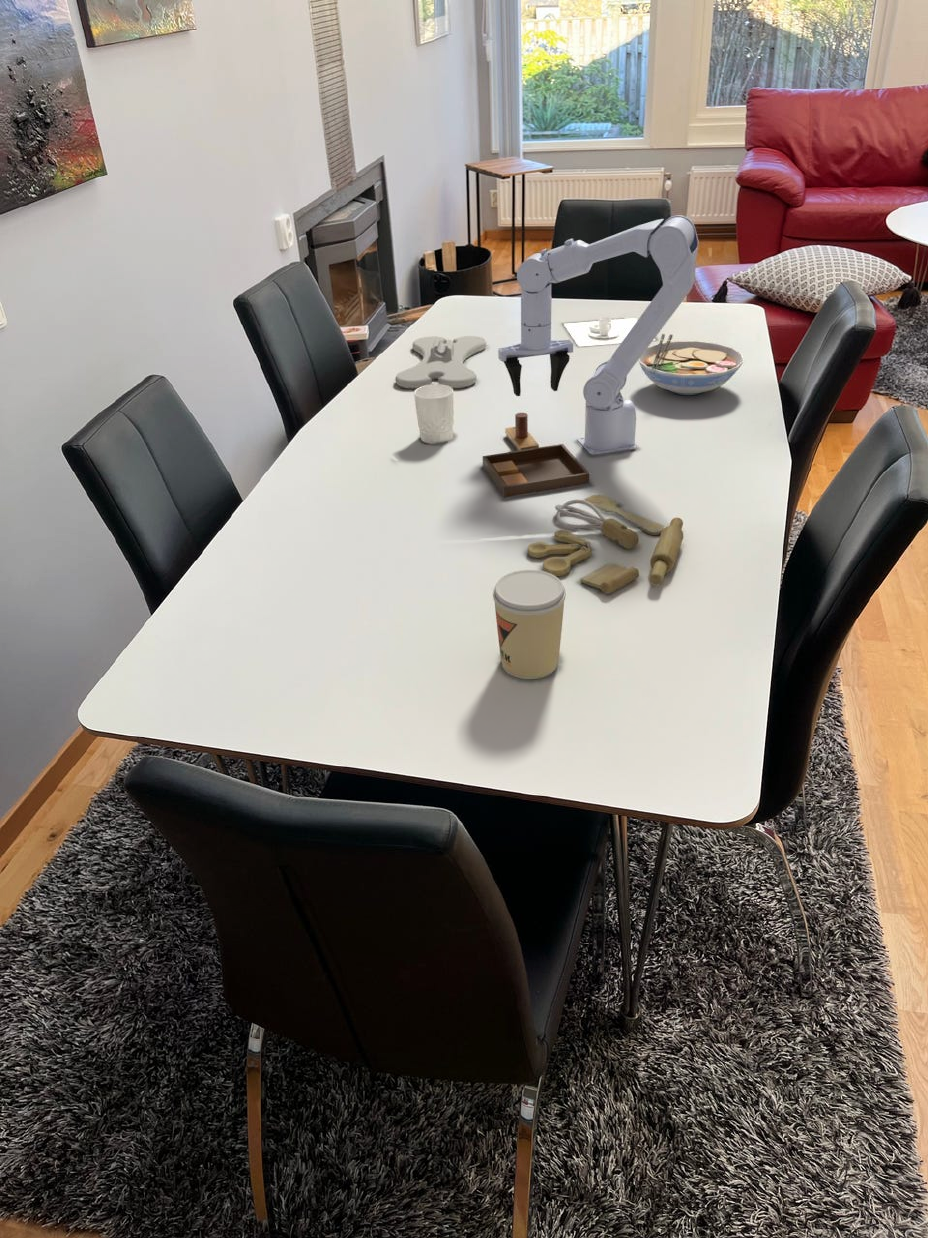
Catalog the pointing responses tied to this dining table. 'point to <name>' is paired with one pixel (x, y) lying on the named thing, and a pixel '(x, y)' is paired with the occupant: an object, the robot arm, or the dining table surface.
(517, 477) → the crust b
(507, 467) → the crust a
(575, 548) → the toy baking set
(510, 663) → the lidded cream canister
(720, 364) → the ramen bowl
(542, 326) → the robot arm
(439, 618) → the dining table surface
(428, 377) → the holder
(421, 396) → the white cup
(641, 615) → the dining table surface
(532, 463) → the tray
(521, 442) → the wooden stamp
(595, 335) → the teacup and saucer
